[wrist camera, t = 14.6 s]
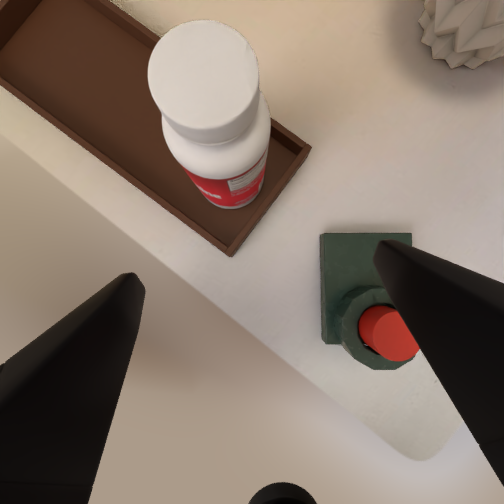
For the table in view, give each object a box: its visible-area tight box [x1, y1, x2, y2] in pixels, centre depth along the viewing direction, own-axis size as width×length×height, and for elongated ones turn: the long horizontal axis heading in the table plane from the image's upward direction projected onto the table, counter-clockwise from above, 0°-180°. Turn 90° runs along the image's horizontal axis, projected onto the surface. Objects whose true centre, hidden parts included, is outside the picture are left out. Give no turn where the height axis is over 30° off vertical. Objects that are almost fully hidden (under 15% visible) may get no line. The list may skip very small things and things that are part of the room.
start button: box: [358, 305, 420, 361], centre depth 16 cm, size 4×4×2 cm
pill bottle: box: [148, 20, 271, 209], centre depth 14 cm, size 6×6×11 cm
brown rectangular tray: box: [0, 0, 312, 257], centre depth 19 cm, size 31×12×2 cm, turn 53°
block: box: [320, 233, 416, 370], centre depth 18 cm, size 11×8×3 cm
